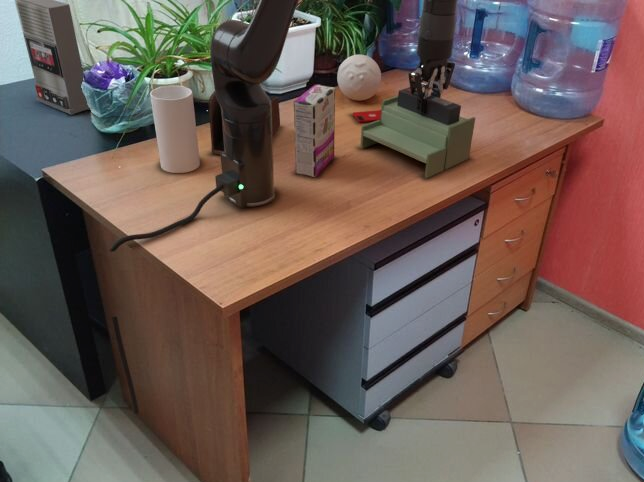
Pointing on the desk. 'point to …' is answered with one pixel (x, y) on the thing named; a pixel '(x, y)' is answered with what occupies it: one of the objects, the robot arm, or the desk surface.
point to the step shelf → (420, 136)
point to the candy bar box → (314, 130)
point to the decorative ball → (359, 77)
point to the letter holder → (217, 127)
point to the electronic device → (367, 116)
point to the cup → (175, 128)
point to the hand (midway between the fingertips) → (427, 110)
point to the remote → (431, 107)
